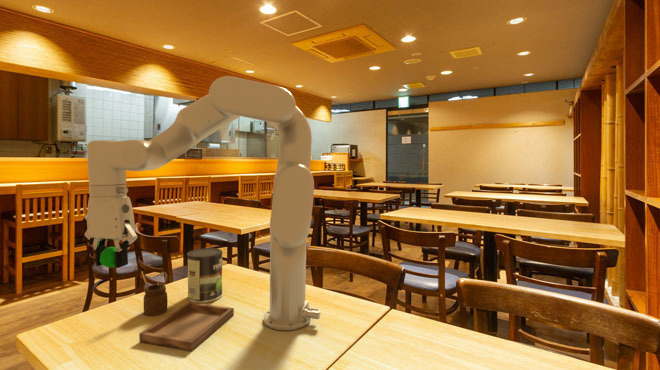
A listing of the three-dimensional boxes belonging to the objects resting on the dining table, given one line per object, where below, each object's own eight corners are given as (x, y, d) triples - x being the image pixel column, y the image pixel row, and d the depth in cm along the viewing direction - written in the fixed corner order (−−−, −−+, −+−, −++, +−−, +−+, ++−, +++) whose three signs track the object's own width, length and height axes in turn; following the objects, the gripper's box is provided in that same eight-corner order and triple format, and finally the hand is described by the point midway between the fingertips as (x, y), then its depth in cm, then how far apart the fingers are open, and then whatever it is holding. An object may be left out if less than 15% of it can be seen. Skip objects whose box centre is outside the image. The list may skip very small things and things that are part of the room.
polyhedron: (110, 263, 85) (109, 244, 85) (128, 263, 85) (127, 245, 84) (94, 269, 80) (93, 250, 80) (114, 270, 80) (113, 250, 79)
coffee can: (227, 290, 109) (227, 248, 108) (215, 303, 99) (215, 257, 98) (195, 289, 110) (195, 247, 108) (181, 303, 99) (180, 256, 98)
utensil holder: (168, 313, 92) (167, 271, 91) (142, 318, 89) (141, 274, 88) (166, 305, 97) (166, 265, 97) (142, 309, 94) (141, 268, 93)
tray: (233, 315, 92) (233, 308, 92) (191, 351, 75) (191, 342, 74) (189, 309, 95) (189, 301, 95) (139, 342, 78) (139, 333, 78)
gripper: (149, 191, 82) (152, 263, 84) (94, 189, 86) (98, 258, 88) (124, 194, 75) (128, 273, 77) (65, 192, 79) (69, 267, 81)
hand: (112, 264), depth 82 cm, fingers closed on polyhedron, 5 cm apart
